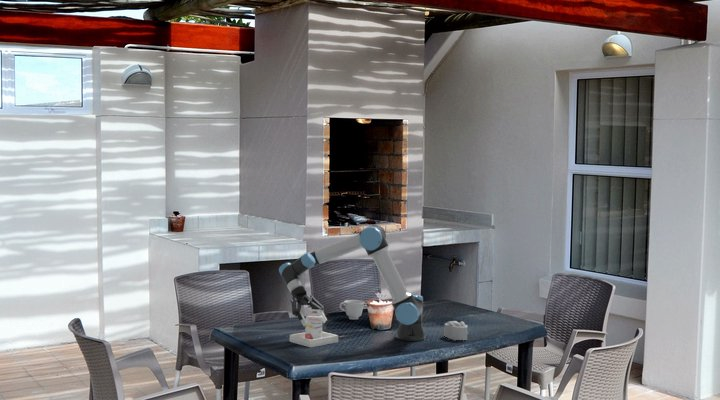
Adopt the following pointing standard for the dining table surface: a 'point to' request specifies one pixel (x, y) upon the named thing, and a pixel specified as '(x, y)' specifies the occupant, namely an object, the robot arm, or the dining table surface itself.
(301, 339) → the tray
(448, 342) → the dining table surface
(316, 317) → the ink cartridge box
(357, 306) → the teacup
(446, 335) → the lumpy-topped squat cylinder
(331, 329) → the dining table surface
